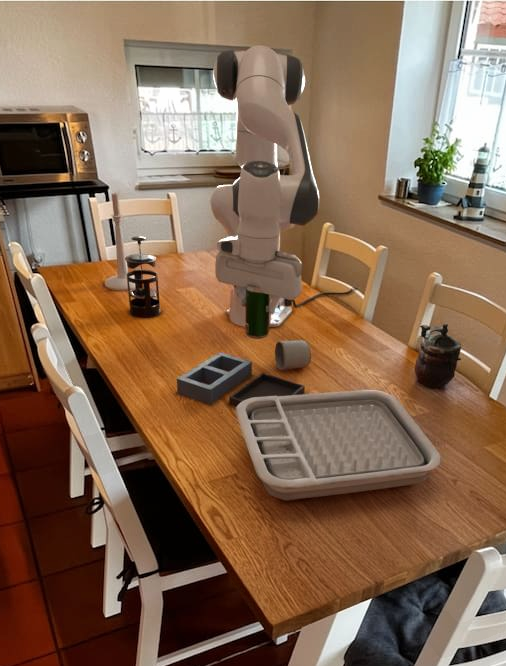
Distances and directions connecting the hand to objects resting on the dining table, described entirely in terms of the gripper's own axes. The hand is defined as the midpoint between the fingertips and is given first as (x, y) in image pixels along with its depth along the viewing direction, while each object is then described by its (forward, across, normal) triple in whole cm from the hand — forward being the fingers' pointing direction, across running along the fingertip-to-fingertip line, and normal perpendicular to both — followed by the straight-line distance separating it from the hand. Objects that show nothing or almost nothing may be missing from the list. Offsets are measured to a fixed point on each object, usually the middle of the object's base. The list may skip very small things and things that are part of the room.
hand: (257, 309), depth 131 cm
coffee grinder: (+23, -34, -32) cm, 52 cm away
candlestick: (+23, +79, -41) cm, 92 cm away
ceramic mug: (+23, +2, -20) cm, 30 cm away
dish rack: (+23, -28, +14) cm, 38 cm away
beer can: (+6, 0, 0) cm, 6 cm away
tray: (+23, -3, -1) cm, 23 cm away
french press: (+23, +57, -26) cm, 66 cm away
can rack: (+23, +12, 0) cm, 25 cm away
